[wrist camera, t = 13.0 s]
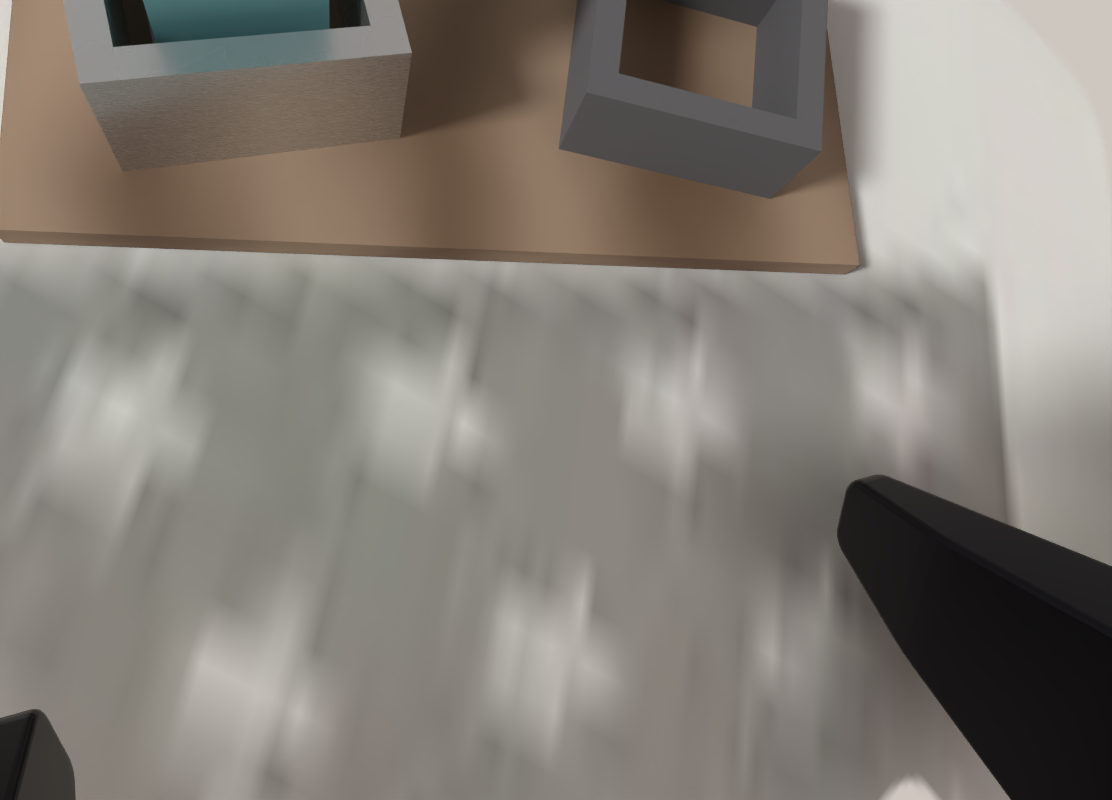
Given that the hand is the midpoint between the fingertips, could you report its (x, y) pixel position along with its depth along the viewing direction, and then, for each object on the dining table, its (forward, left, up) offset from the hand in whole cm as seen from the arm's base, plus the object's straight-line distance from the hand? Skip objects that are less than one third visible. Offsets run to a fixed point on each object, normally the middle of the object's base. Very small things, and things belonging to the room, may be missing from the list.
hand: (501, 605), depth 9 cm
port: (+6, +15, -13) cm, 21 cm away
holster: (+16, +7, -13) cm, 22 cm away
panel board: (+11, +11, -14) cm, 21 cm away
